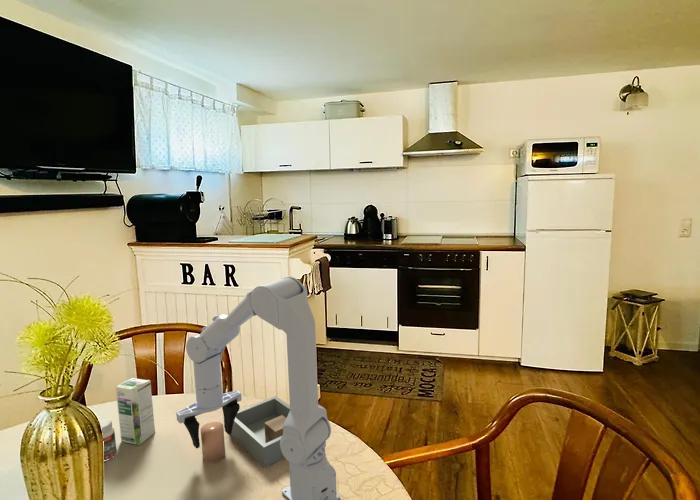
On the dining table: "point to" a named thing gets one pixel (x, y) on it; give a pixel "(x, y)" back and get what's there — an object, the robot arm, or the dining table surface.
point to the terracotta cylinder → (213, 441)
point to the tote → (260, 430)
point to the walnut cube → (274, 428)
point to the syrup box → (135, 410)
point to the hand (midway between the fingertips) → (212, 439)
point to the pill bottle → (108, 438)
